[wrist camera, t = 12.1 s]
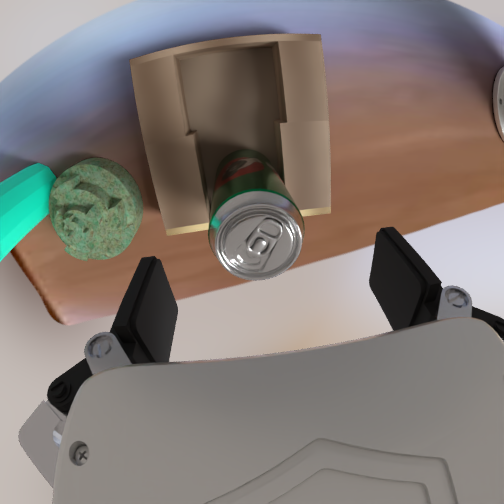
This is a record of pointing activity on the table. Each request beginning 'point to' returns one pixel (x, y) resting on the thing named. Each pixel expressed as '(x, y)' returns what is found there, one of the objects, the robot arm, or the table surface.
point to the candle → (23, 203)
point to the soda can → (253, 218)
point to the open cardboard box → (233, 119)
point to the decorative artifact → (95, 209)
